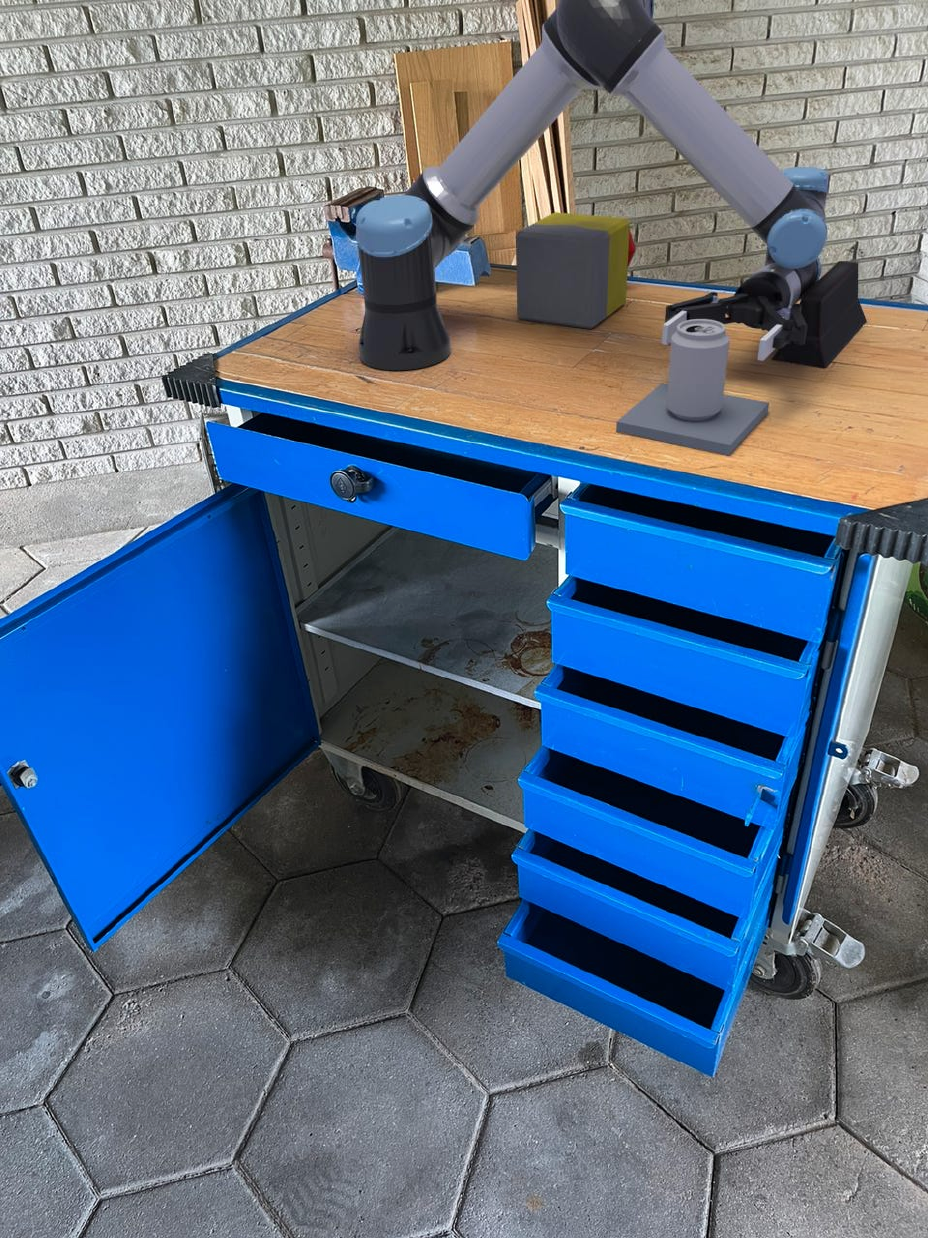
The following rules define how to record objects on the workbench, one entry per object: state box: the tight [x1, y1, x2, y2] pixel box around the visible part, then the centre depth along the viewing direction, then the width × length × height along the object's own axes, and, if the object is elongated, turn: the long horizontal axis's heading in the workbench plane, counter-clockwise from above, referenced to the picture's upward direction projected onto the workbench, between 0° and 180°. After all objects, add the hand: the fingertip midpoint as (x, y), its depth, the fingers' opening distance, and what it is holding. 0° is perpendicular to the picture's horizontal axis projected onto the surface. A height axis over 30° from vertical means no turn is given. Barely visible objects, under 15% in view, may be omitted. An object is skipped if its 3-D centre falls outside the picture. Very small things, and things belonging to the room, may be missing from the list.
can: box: [666, 319, 730, 421], centre depth 128 cm, size 8×8×12 cm
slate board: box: [615, 382, 770, 456], centre depth 132 cm, size 16×15×2 cm
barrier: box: [771, 260, 868, 370], centre depth 153 cm, size 24×9×10 cm, turn 147°
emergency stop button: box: [515, 211, 637, 330], centre depth 171 cm, size 15×24×15 cm, turn 149°
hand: (711, 342), depth 129 cm, fingers open, 13 cm apart
